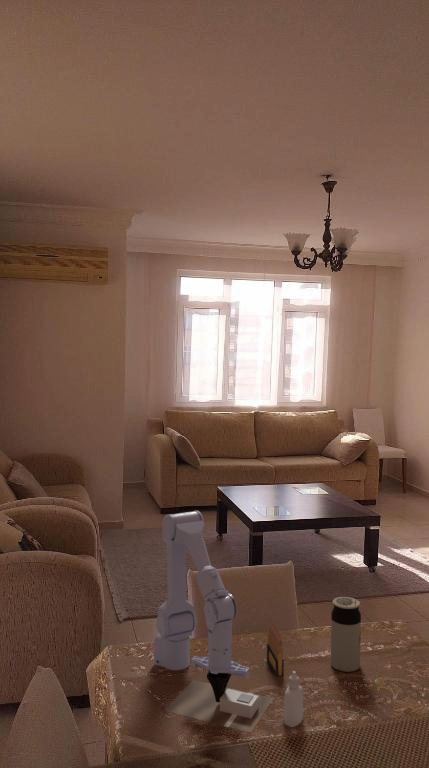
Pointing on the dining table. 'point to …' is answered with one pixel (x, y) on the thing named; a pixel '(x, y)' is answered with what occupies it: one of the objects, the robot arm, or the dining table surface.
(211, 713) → the subfloor panel
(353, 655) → the travel mug
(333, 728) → the dining table surface
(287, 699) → the eye dropper bottle
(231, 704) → the block
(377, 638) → the dining table surface
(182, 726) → the dining table surface
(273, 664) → the ammunition clip
